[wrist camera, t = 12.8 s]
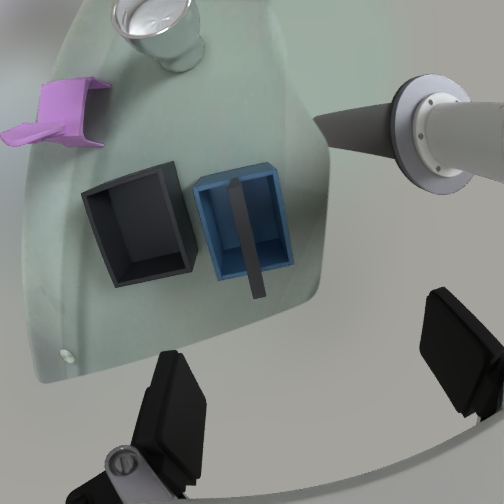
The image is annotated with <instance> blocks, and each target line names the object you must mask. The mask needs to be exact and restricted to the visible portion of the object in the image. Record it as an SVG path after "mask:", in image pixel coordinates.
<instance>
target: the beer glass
mask: <svg viewBox="0 0 504 504" xmlns="http://www.w3.org/2000/svg"><path fill="white" fill-rule="evenodd" d="M111 22H112V25H113V27H114V28H115V30H116V31H117V32H118V33H119V34H120V35H121V36H122V37H123V38H124V39H125V41H126V42H127V43H128V44H130V45H131V46H132V47H133V48H134V49H136V50H137V51H139V52H140V53H142V54H144V55H147V56H149V57H152V58H156V59H157V60H158V62H159V64H160V65H161V66H162V67H163V68H164V69H166V70H168V71H171V72H184V71H187V70H190V69H192V68H193V67H195V66H196V65H197V64H198V63H199V62H200V61H201V59H202V58H203V56H204V52H205V44H204V41H203V39H202V38H201V36H200V35H199V31H200V15H199V10H198V7H197V4H196V2H195V0H115V2H114V4H113V7H112V10H111Z"/></svg>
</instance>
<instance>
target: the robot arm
mask: <svg viewBox="0 0 504 504" xmlns="http://www.w3.org/2000/svg"><path fill="white" fill-rule="evenodd" d="M412 131H413V140H414V144H415V148H416V150H417V153H418V155H419V157H420V159H421V160H422V162H423V163H424V165H425V166H426V167H427V168H428V169H429V170H431V171H432V172H433V173H435V174H437V175H440V176H443V177H454V176H457V175H459V174H460V173H462V172H463V171H465V172H468V173H472V174H475V175H479V176H483V177H485V178H489V179H492V180H495V181H498V182H501V183H504V103H499V102H460V100H458V99H457V98H456V97H454V96H452V95H450V94H448V93H443V92H441V93H433V94H430V95H428V96H426V97H425V98H424V99H423V100H422V101H421V102H420V103H419V105H418V106H417V109H416V111H415V114H414V118H413V128H412ZM419 348H420V353H421V355H422V357H423V358H424V360H425V361H426V363H427V364H428V366H429V367H430V369H431V371H432V372H433V373H434V375H435V377H436V378H437V380H438V381H439V383H440V385H441V386H442V388H443V389H444V391H445V393H446V394H447V396H448V397H449V399H450V401H451V402H452V404H453V406H454V407H455V409H456V411H457V412H458V413H462V414H463V416H464V418H466V417H467V416H469V415H471V414H473V413H475V412H476V414H477V415H478V419H477V424H476V426H474V427H472V428H470V429H468V430H466V431H464V432H463V433H461V434H459V435H457V436H455V437H453V438H451V439H449V440H447V441H445V442H443V443H441V444H439V445H437V446H435V447H433V448H431V449H428V450H426V451H424V452H422V453H419V454H417V455H415V456H412V457H410V458H408V459H405V460H402V461H400V462H397V463H394V464H392V465H389V466H386V467H383V468H380V469H378V470H374V471H371V472H368V473H365V474H362V475H359V476H355V477H351V478H348V479H344V480H340V481H336V482H332V483H328V484H324V485H319V486H314V487H310V488H304V489H299V490H293V491H287V492H280V493H273V494H266V495H255V496H245V497H231V498H210V499H189V498H188V497H187V495H186V494H185V493H184V492H185V490H186V485H192V486H193V485H194V486H195V485H196V479H199V478H200V477H201V468H202V454H203V442H204V430H205V418H206V407H207V406H206V405H207V403H206V399H205V396H204V394H203V393H202V391H201V389H200V387H199V385H198V383H197V381H196V379H195V377H194V375H193V374H192V372H191V370H190V367H189V365H188V363H187V362H186V360H185V357H184V355H183V354H182V353H178V351H176V350H170V351H163V352H161V353H160V355H159V358H158V362H157V365H156V368H155V371H154V375H153V378H152V381H151V385H150V387H148V388H147V389H146V391H145V395H144V398H143V401H142V405H141V408H140V412H139V415H138V419H137V422H136V426H135V430H134V433H133V437H132V441H131V445H122V446H119V447H116V448H114V449H113V450H112V451H110V453H109V454H108V455H107V457H106V460H105V471H104V472H102V473H100V474H99V475H97V476H96V477H94V478H93V479H91V480H89V481H88V482H86V483H85V484H83V485H81V486H80V487H78V488H77V489H75V490H73V491H72V492H71V493H70V494H69V495H68V497H67V499H66V504H504V347H503V345H502V344H501V343H500V342H499V341H498V340H497V339H496V338H495V337H494V336H493V335H492V334H491V332H489V330H488V329H487V328H486V327H485V326H484V325H483V324H482V323H481V322H480V321H479V320H478V319H477V318H476V317H475V316H474V315H473V314H472V313H471V312H470V311H469V310H468V309H467V308H466V307H465V306H464V305H463V304H462V303H461V302H460V301H459V300H458V299H457V298H456V297H455V296H454V295H453V294H452V293H451V292H449V291H448V290H447V289H446V288H445V287H441V288H438V289H435V290H432V291H431V292H430V293H429V296H427V299H426V306H425V314H424V322H423V328H422V335H421V341H420V347H419Z"/></svg>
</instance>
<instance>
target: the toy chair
mask: <svg viewBox="0 0 504 504" xmlns="http://www.w3.org/2000/svg"><path fill="white" fill-rule="evenodd" d="M100 88H111V85H109V84H107V83H105V82H103V81H100V80H98V79H96V78H94V77H84V78H75V79H66V80H59V81H53V82H49V83H48V84H44V85H42V87H41V94H40V104H39V113H38V120H37V123H22V124H21V125H18V126H16V127H14V128H12V129H10V130H7V131H4V132H2V133H0V138H1V139H2V141H3V142H4V143H5V144H6V145H8V146H12V147H16V146H21V145H24V144H30V143H39V142H42V141H48V142H57V143H61V144H63V145H64V146H66V147H73V146H92V147H104V144H101V143H97V142H93V141H89V140H86V139H85V137H84V134H83V121H84V109H85V102H86V97H87V91H88V89H100Z"/></svg>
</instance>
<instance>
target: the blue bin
mask: <svg viewBox="0 0 504 504" xmlns="http://www.w3.org/2000/svg"><path fill="white" fill-rule="evenodd" d="M192 189H193V193H194V196H195V200H196V204H197V208H198V211H199V215H200V219H201V222H202V226H203V230H204V233H205V237H206V240H207V244H208V247H209V251H210V254H211V258H212V261H213V265H214V268H215V272H216V275H217V278H218V281H220V280H225V279H230V278H235V277H239V276H244V275H248V278H249V282H250V287H251V291H252V295H253V299H257V298H262V297H266V292H265V287H264V283H263V278H262V274H261V272H262V271H267V270H272V269H276V268H281V267H285V266H289V265H294V261H293V255H292V249H291V243H290V237H289V232H288V226H287V221H286V215H285V210H284V204H283V199H282V194H281V188H280V183H279V178H278V173H277V169H276V168H274V167H273V166H272V165H271V164H269V163H268V162H265V163H261V164H256V165H251V166H246V167H242V168H237V169H233V170H228V171H224V172H220V173H216V174H212V175H208V176H203V177H201V178H200V179H199V181H198V182H197V183H196V184H195V186H194V187H193V188H192Z"/></svg>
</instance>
